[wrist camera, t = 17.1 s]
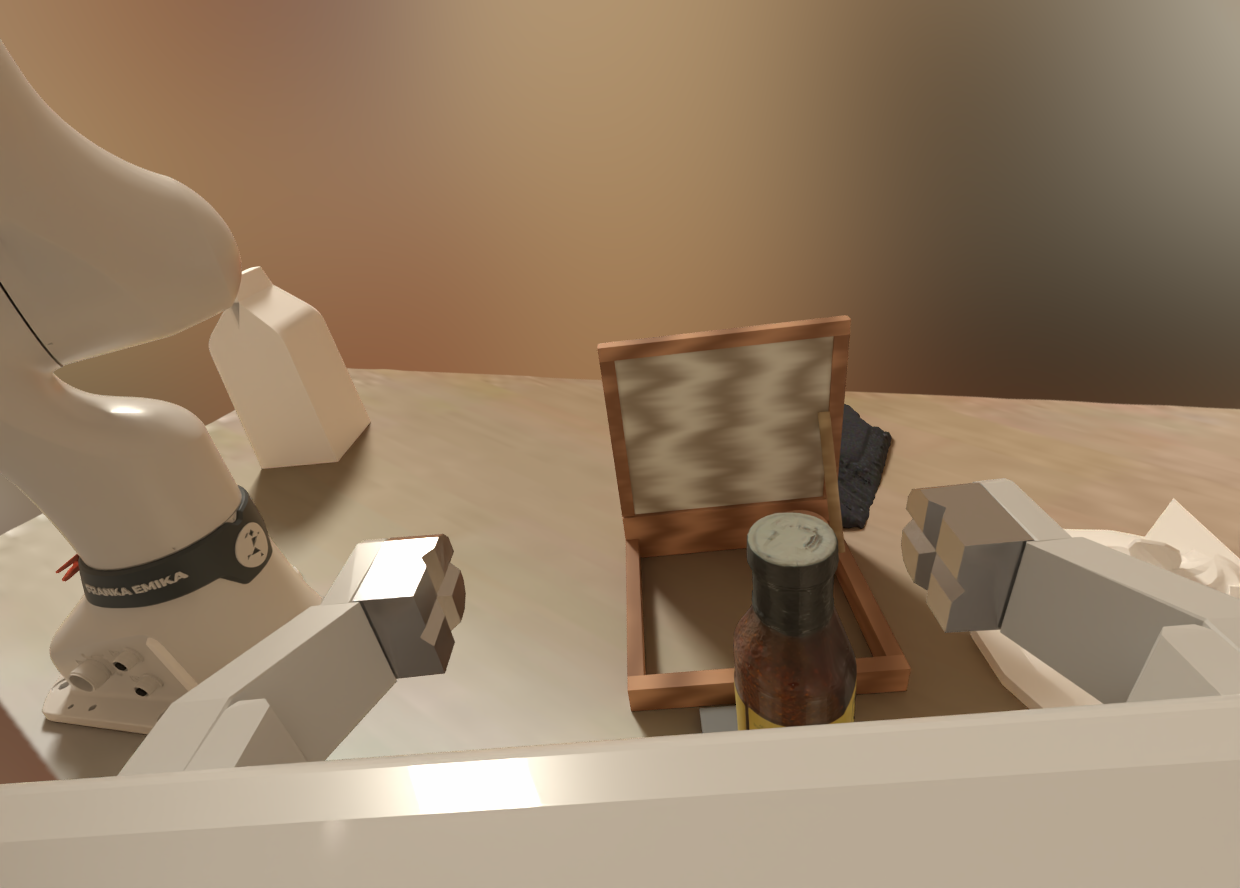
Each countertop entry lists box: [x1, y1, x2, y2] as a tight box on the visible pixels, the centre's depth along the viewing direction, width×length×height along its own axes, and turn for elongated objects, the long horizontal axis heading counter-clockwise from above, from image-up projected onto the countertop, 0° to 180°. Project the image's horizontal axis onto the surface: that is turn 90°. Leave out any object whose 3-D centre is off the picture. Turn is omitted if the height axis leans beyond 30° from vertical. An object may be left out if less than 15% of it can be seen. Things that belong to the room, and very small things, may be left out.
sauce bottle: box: [733, 513, 857, 731], centre depth 31 cm, size 6×6×20 cm
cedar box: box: [598, 315, 911, 711], centre depth 45 cm, size 20×18×22 cm
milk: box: [209, 267, 371, 469], centre depth 82 cm, size 12×12×26 cm
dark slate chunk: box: [838, 404, 892, 528], centre depth 67 cm, size 15×22×5 cm
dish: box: [970, 498, 1240, 709], centre depth 40 cm, size 25×25×11 cm
